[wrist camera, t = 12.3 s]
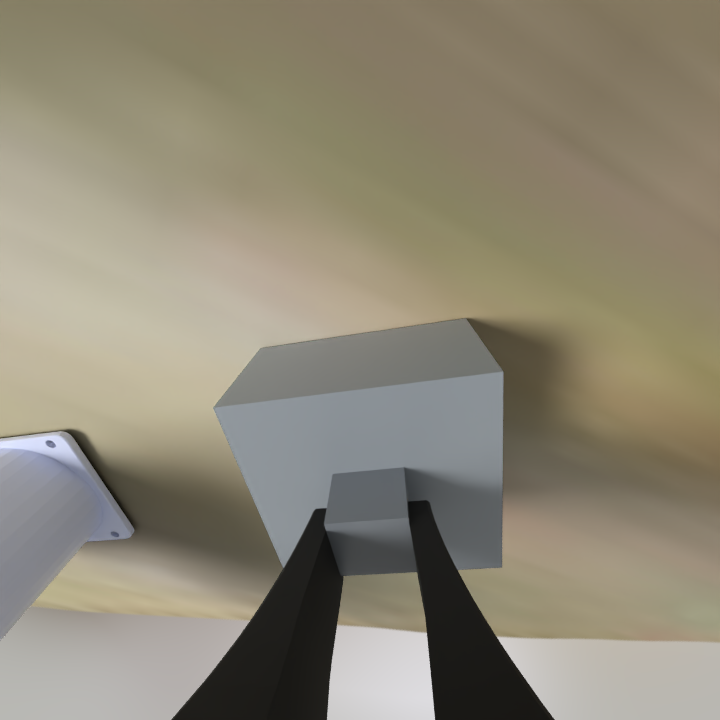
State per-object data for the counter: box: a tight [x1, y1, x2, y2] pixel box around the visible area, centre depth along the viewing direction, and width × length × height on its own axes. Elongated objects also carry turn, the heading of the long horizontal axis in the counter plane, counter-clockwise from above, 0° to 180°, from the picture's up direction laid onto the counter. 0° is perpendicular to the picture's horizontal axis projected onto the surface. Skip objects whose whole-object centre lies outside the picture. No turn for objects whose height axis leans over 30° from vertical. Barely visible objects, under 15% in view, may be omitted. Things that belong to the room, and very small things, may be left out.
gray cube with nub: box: [213, 318, 503, 576], centre depth 13 cm, size 9×9×7 cm
